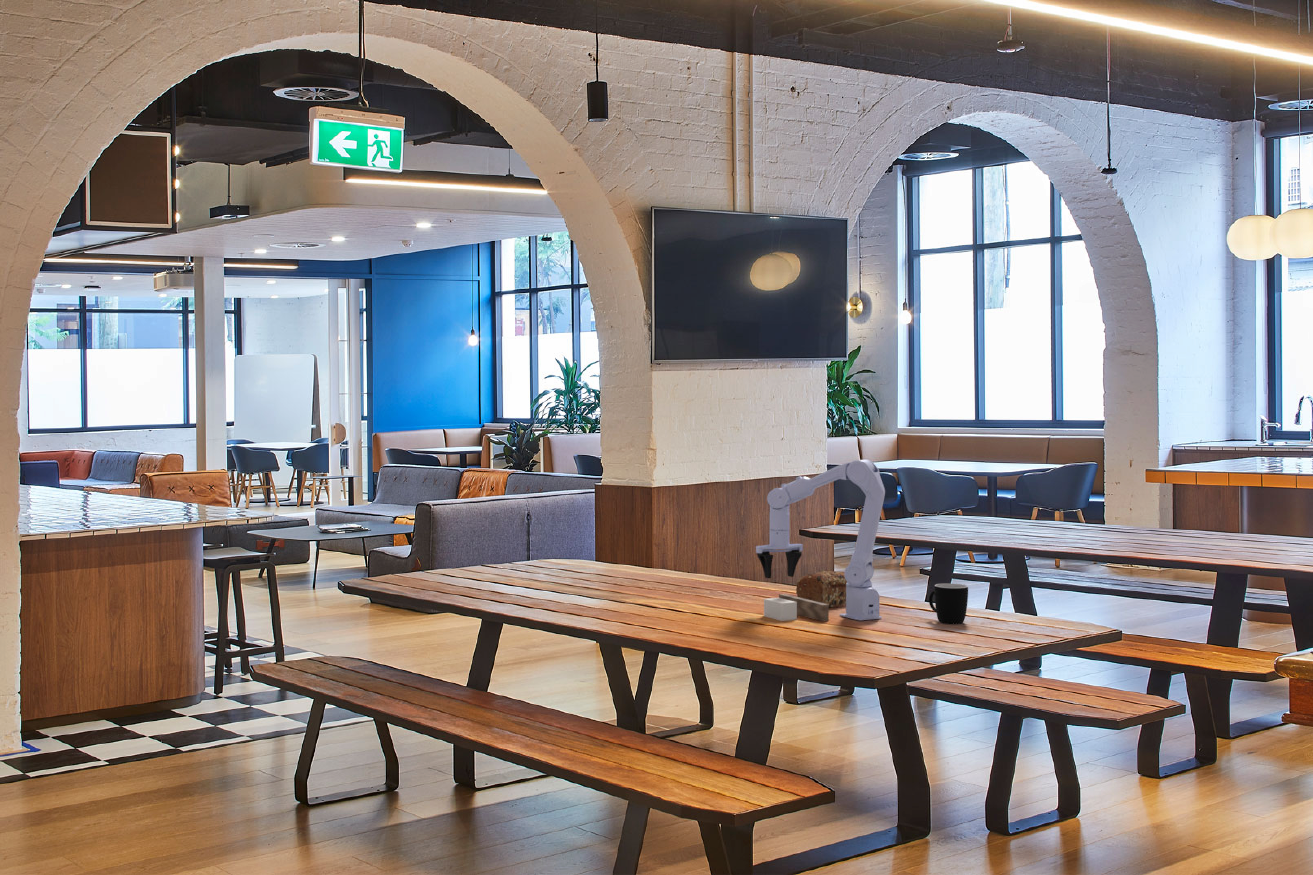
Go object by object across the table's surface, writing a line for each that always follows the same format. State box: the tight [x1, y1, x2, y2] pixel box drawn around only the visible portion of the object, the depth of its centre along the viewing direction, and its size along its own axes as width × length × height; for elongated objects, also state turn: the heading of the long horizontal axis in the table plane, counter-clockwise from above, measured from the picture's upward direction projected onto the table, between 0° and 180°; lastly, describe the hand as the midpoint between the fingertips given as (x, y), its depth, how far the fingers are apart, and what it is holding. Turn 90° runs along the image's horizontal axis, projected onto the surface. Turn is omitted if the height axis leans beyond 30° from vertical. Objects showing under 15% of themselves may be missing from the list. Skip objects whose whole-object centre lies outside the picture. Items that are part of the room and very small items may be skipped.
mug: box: [928, 583, 969, 625], centre depth 351 cm, size 12×9×10 cm
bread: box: [795, 570, 848, 608], centre depth 382 cm, size 19×11×10 cm, turn 135°
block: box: [763, 597, 798, 622], centre depth 357 cm, size 9×5×5 cm, turn 28°
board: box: [778, 593, 830, 622], centre depth 362 cm, size 22×2×4 cm, turn 27°
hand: (779, 577), depth 367 cm, fingers open, 7 cm apart
